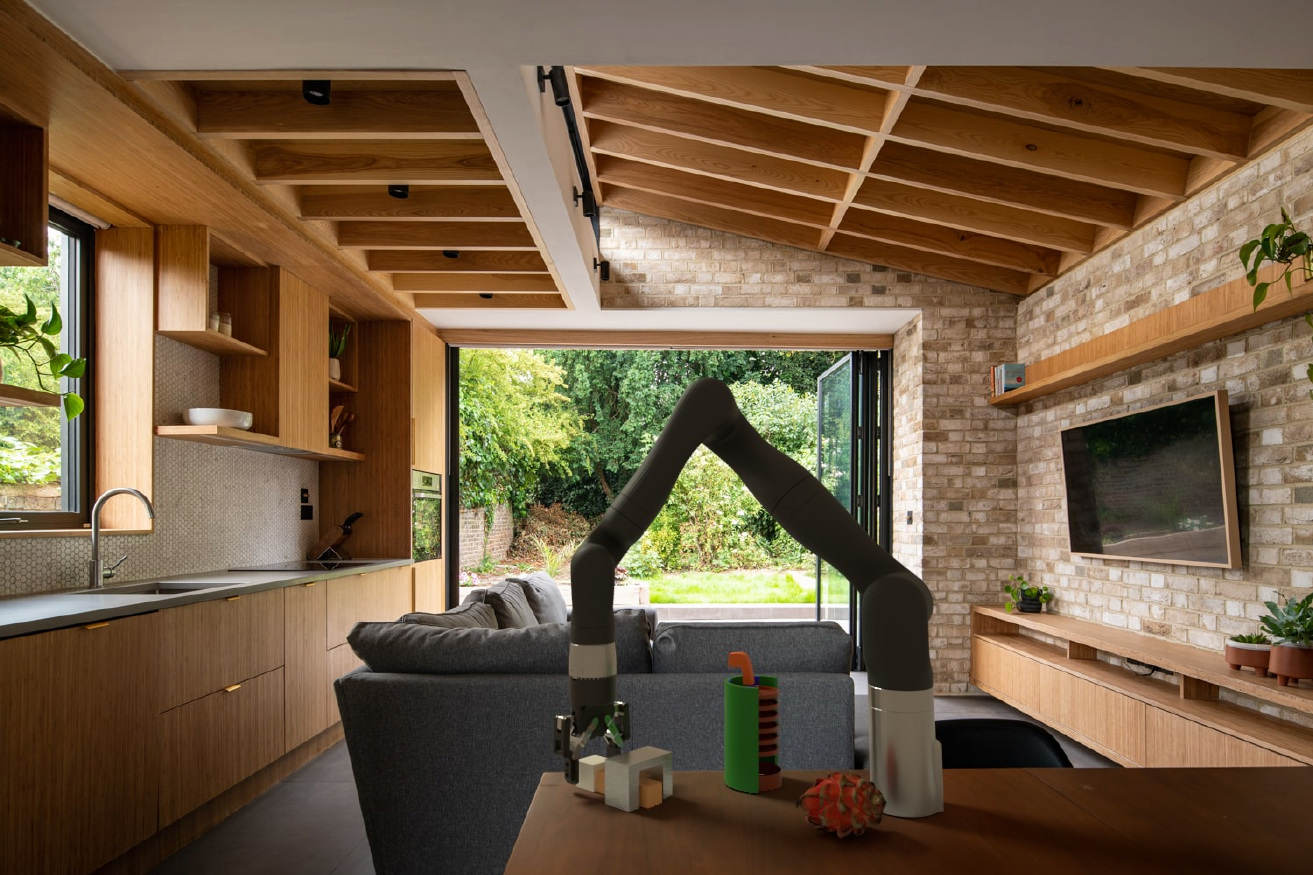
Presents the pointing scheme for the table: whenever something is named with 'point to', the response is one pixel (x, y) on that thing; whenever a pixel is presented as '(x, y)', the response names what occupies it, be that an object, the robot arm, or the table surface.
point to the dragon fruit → (843, 804)
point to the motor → (751, 729)
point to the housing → (636, 775)
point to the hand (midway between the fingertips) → (593, 776)
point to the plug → (595, 781)
